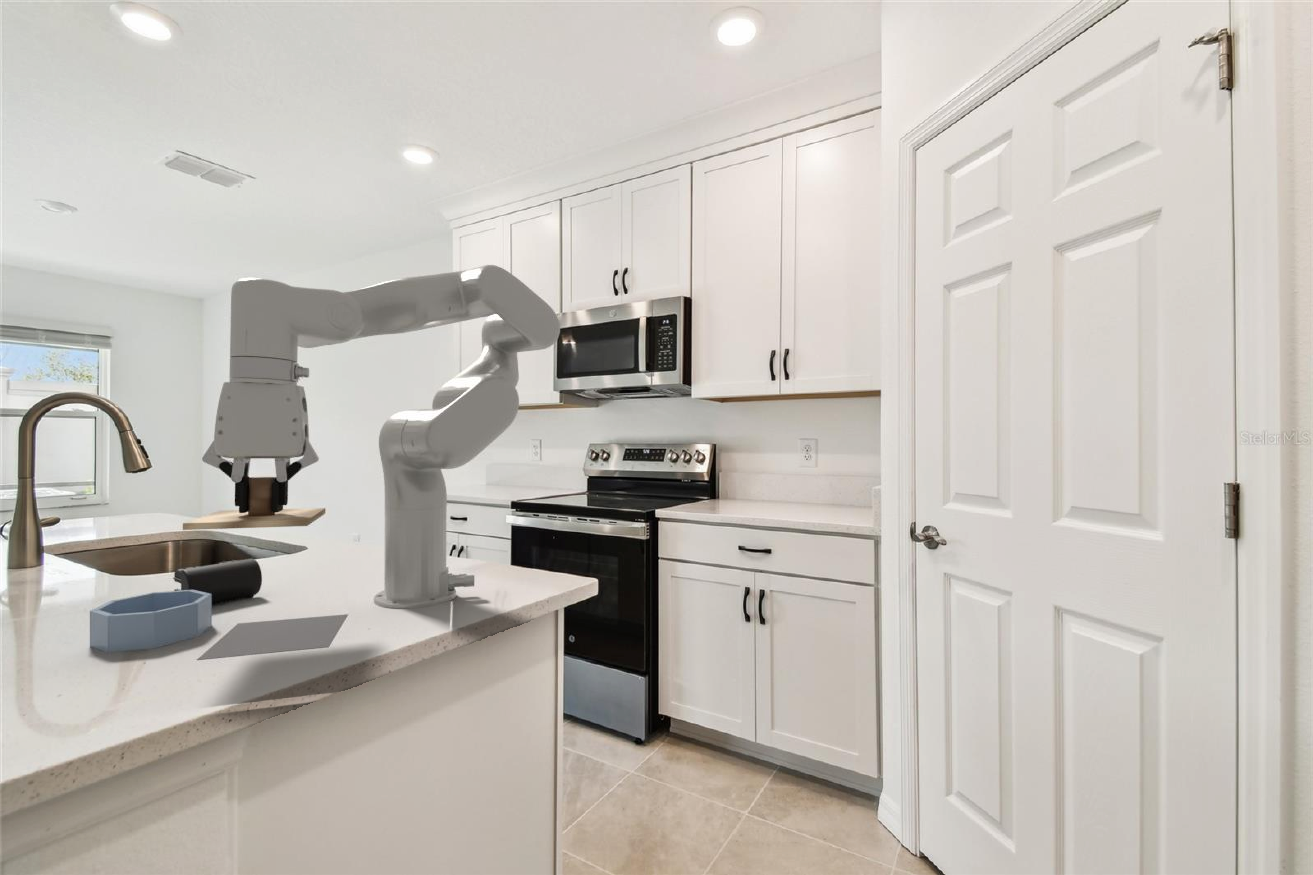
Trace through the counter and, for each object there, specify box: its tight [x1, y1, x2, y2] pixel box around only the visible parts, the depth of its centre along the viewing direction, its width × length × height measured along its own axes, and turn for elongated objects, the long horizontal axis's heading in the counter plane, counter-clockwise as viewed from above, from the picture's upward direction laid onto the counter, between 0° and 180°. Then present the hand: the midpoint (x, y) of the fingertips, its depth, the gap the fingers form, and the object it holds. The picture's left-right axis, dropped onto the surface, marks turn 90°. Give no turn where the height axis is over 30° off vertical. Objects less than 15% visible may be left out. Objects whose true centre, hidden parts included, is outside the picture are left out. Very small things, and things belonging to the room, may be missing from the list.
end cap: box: [172, 558, 263, 606], centre depth 94 cm, size 10×7×7 cm
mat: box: [196, 614, 349, 661], centre depth 79 cm, size 14×14×1 cm
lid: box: [182, 476, 326, 531], centre depth 79 cm, size 13×13×6 cm
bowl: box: [89, 589, 213, 653], centre depth 79 cm, size 11×11×5 cm
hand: (261, 510), depth 79 cm, fingers closed on lid, 3 cm apart
